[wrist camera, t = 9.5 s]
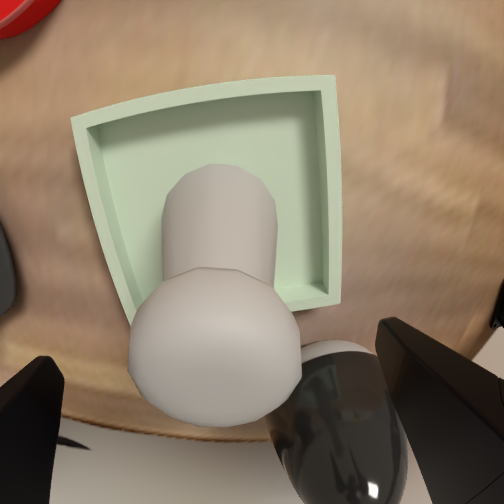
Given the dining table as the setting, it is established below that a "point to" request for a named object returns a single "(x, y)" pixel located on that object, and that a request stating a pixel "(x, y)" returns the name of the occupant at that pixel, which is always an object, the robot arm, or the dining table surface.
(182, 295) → the salt shaker
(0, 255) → the casserole
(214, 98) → the tray
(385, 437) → the dark grey egg shape
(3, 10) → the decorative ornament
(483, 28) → the dining table surface
